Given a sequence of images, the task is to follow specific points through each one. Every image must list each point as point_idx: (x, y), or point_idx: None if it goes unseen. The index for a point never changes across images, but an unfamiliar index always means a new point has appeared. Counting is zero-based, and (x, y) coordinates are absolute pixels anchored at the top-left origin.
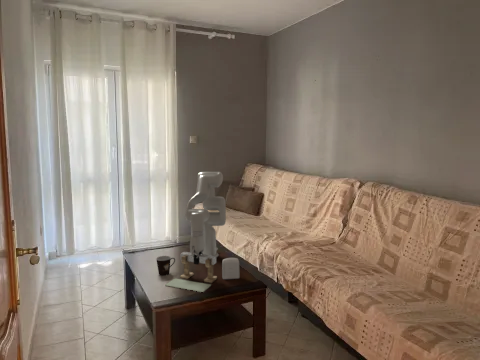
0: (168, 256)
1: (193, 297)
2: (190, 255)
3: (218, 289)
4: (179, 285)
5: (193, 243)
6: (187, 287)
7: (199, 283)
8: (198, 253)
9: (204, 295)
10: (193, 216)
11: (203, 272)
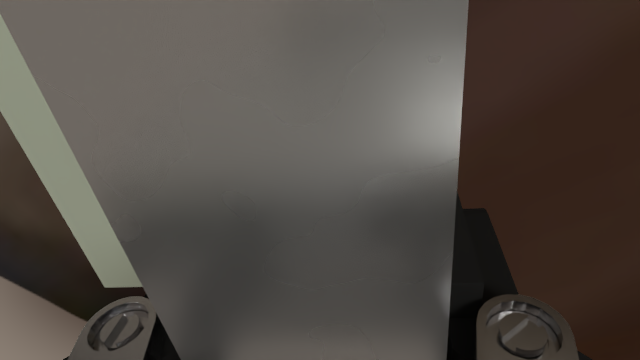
0: None
1: (8, 263)
2: (103, 189)
3: None
4: (3, 32)
5: None
6: (50, 146)
7: None
8: (475, 355)
9: (91, 305)
10: None
11: (560, 30)
